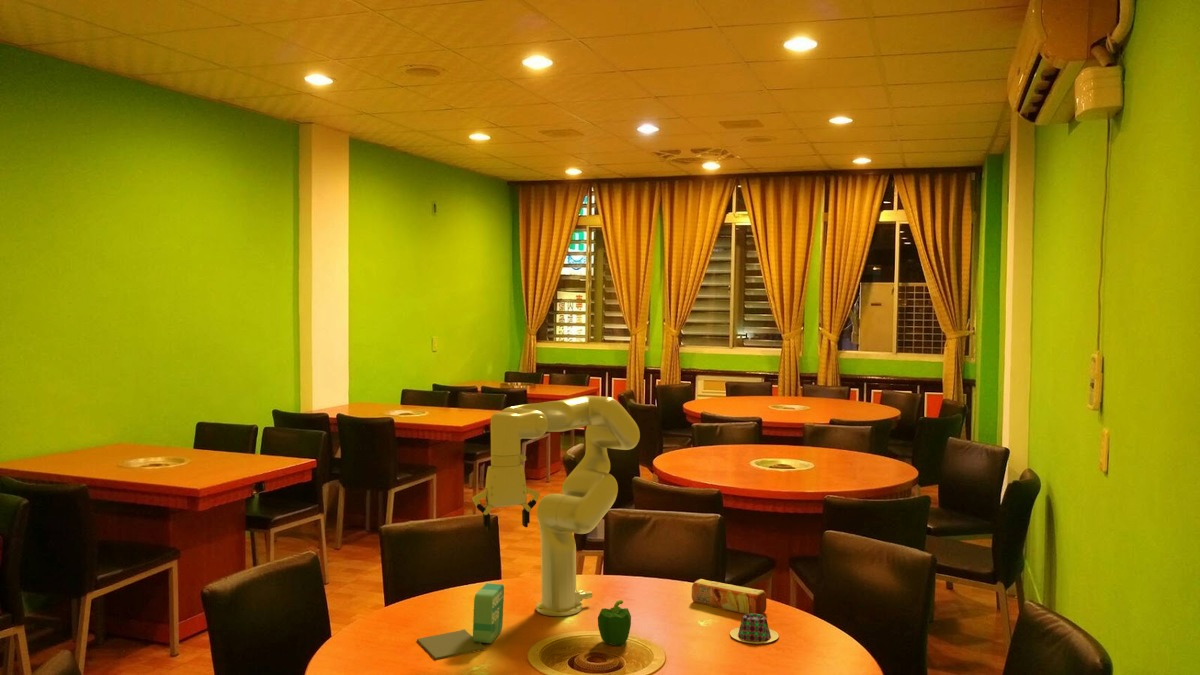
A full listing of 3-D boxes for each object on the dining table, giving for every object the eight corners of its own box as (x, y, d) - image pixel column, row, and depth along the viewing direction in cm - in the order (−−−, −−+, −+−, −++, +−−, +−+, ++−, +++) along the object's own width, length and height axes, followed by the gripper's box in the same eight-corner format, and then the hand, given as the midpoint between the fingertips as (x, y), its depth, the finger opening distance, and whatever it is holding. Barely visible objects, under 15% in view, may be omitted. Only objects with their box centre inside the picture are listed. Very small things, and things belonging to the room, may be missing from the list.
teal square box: (490, 645, 217) (492, 596, 217) (472, 643, 218) (474, 594, 218) (502, 629, 229) (504, 583, 229) (485, 628, 230) (487, 581, 230)
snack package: (689, 603, 249) (689, 579, 249) (702, 597, 254) (702, 574, 254) (756, 620, 235) (756, 594, 235) (768, 613, 240) (768, 588, 240)
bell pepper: (608, 651, 214) (608, 609, 214) (592, 640, 222) (592, 600, 221) (638, 644, 218) (638, 604, 218) (622, 634, 225) (622, 595, 225)
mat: (464, 631, 228) (464, 629, 228) (485, 649, 216) (485, 647, 216) (417, 640, 222) (417, 638, 222) (435, 659, 210) (435, 657, 210)
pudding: (781, 631, 227) (781, 611, 227) (775, 648, 216) (775, 627, 216) (734, 626, 231) (733, 606, 231) (726, 643, 219) (726, 622, 219)
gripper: (535, 456, 234) (535, 521, 234) (469, 460, 228) (470, 527, 229) (542, 461, 226) (543, 528, 227) (474, 465, 221) (475, 534, 221)
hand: (506, 527), depth 228 cm, fingers open, 9 cm apart
